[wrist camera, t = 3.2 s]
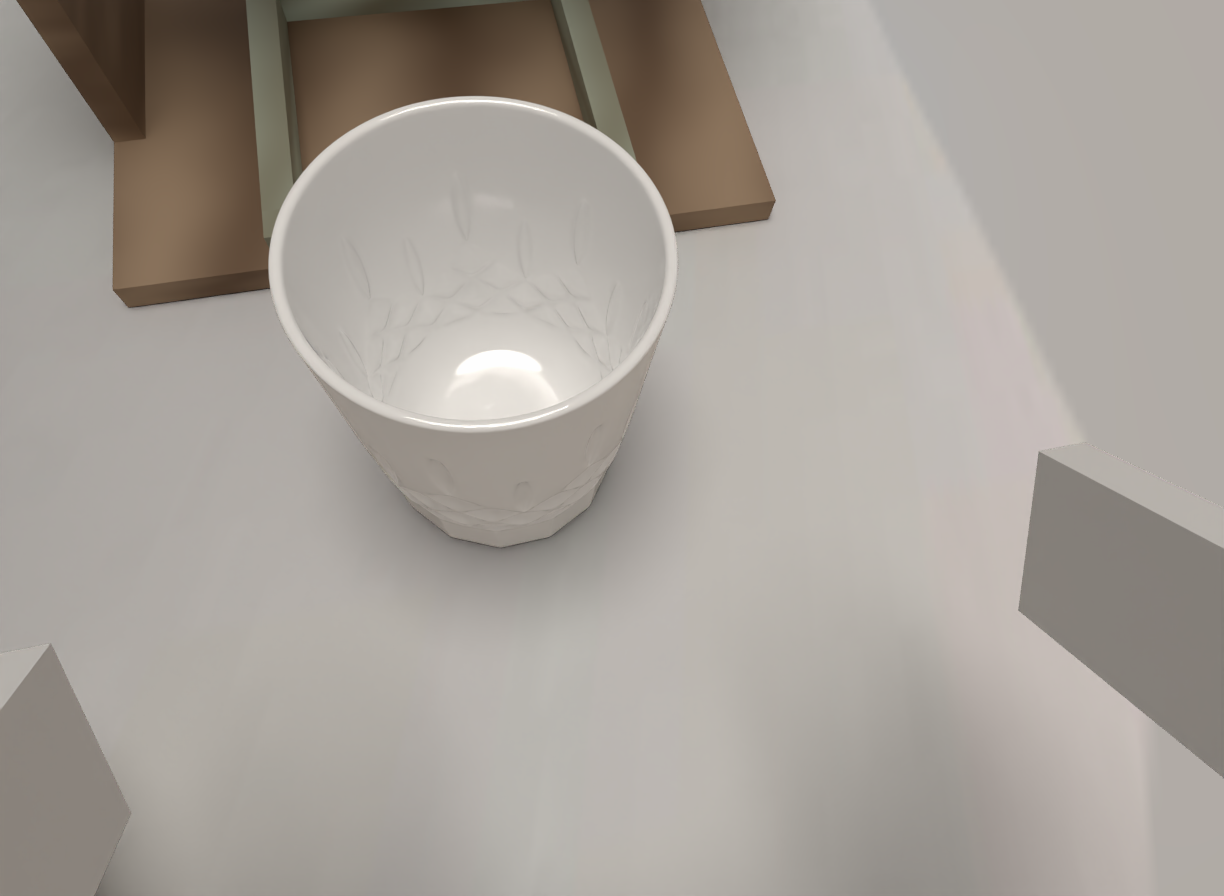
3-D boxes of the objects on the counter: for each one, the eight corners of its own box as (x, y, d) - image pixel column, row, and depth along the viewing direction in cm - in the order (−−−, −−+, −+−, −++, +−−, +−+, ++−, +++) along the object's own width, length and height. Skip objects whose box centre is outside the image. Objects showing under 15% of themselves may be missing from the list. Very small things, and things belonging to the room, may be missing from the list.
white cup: (339, 536, 23) (199, 378, 14) (417, 313, 26) (347, 60, 17) (601, 593, 23) (639, 473, 14) (648, 363, 26) (705, 137, 17)
